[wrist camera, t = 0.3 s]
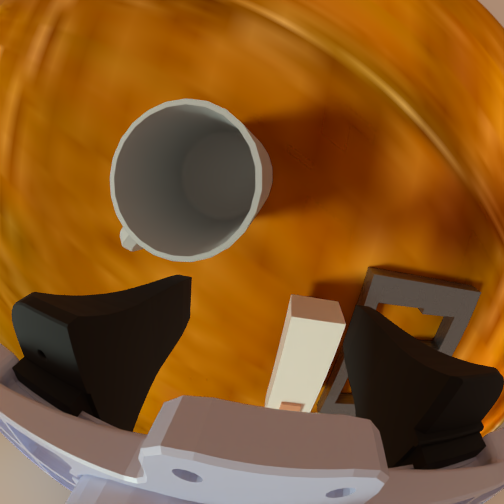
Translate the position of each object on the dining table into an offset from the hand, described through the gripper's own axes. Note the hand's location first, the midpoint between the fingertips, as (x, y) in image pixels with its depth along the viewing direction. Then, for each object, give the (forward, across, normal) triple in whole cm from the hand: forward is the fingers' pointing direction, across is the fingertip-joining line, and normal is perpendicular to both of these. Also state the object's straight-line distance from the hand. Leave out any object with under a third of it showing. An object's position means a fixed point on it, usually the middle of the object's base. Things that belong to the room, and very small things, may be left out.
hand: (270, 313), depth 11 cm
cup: (+10, +6, -4) cm, 12 cm away
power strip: (+10, -3, +8) cm, 13 cm away
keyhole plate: (+10, -13, +8) cm, 18 cm away
